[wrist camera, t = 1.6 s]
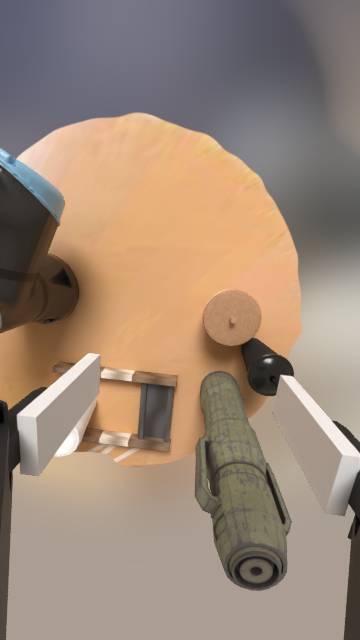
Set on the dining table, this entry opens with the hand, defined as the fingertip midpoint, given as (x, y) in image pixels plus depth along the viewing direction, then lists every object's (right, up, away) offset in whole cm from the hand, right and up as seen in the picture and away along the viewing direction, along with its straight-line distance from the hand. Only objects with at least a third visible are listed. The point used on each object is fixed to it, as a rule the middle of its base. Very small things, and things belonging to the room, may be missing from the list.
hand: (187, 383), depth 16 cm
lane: (-16, -16, +44) cm, 49 cm away
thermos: (+9, -12, +42) cm, 44 cm away
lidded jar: (+10, +6, +37) cm, 39 cm away
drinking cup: (+16, -2, +39) cm, 42 cm away
